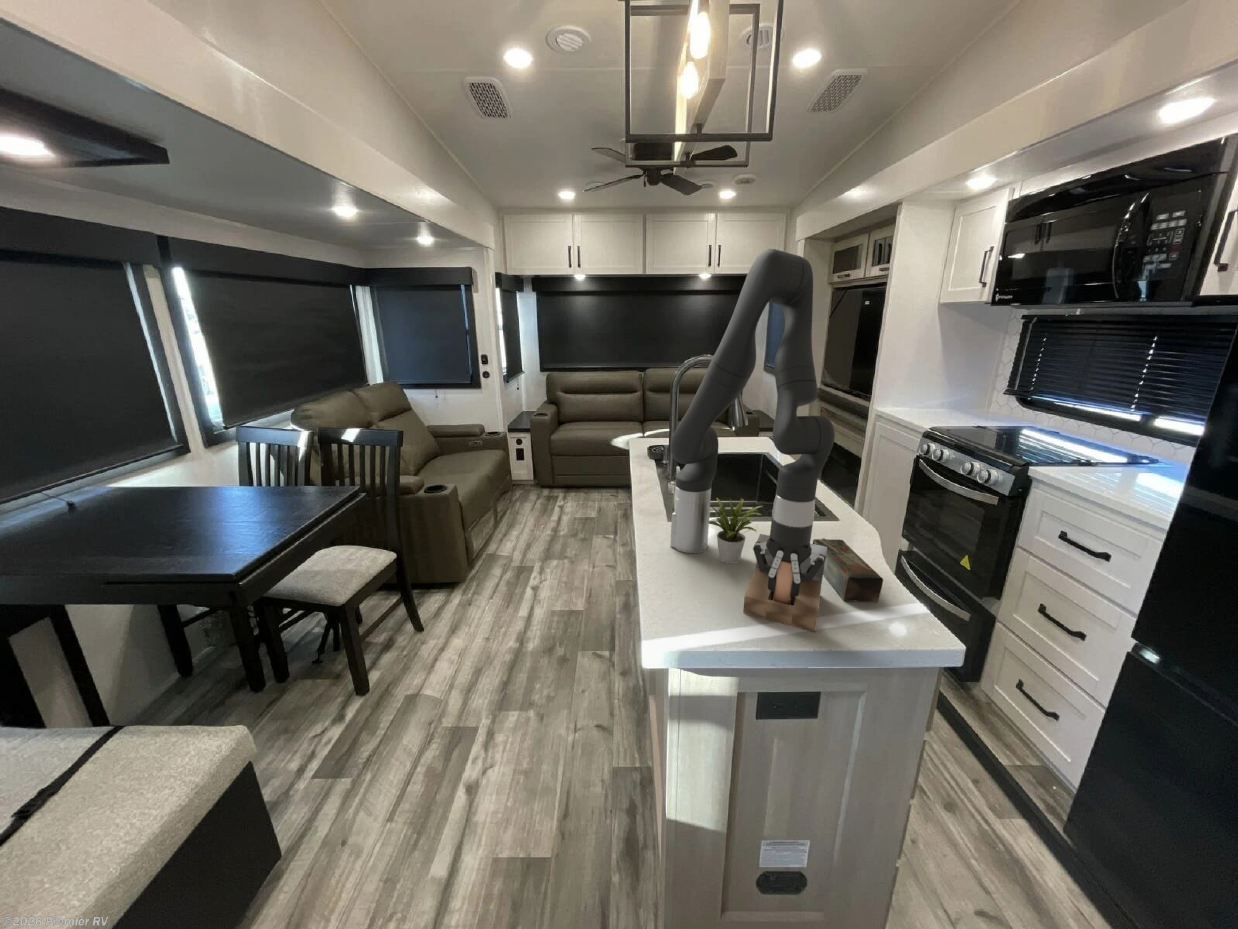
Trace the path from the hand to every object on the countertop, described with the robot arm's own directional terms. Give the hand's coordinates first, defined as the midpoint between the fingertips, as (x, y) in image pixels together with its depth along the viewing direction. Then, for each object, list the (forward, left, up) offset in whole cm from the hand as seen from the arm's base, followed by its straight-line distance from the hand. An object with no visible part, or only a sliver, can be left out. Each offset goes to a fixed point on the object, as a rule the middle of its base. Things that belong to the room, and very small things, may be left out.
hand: (782, 593), depth 93 cm
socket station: (0, +3, -5) cm, 6 cm away
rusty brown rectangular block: (+11, +20, -5) cm, 24 cm away
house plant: (-14, +17, -5) cm, 23 cm away
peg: (0, 0, -2) cm, 2 cm away
